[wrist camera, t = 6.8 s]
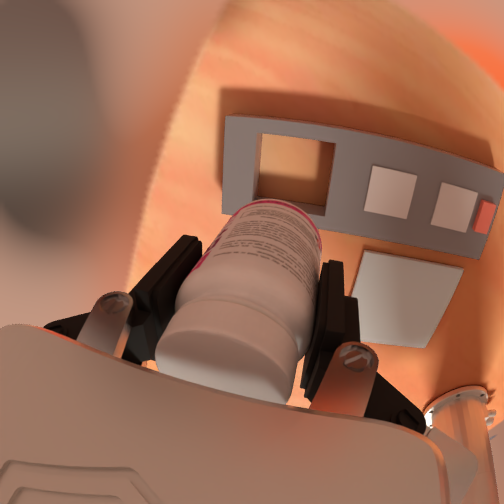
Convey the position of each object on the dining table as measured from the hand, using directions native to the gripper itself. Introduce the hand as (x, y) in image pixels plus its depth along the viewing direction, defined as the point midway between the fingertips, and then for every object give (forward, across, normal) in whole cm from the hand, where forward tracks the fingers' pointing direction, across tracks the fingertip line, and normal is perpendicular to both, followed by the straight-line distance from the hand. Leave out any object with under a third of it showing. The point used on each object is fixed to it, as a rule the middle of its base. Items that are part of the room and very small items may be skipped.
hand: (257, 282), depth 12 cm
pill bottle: (+4, 0, 0) cm, 4 cm away
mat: (+18, -14, +13) cm, 26 cm away
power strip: (+18, -7, 0) cm, 19 cm away
